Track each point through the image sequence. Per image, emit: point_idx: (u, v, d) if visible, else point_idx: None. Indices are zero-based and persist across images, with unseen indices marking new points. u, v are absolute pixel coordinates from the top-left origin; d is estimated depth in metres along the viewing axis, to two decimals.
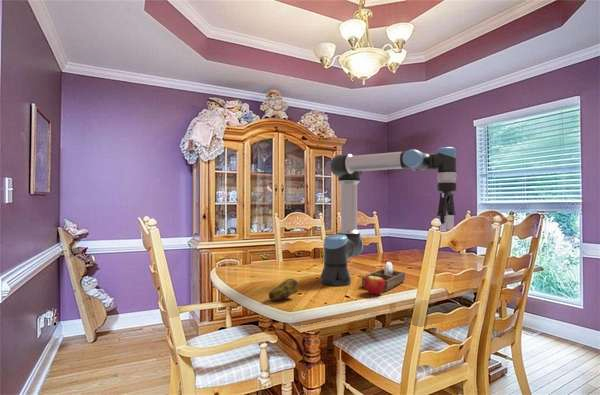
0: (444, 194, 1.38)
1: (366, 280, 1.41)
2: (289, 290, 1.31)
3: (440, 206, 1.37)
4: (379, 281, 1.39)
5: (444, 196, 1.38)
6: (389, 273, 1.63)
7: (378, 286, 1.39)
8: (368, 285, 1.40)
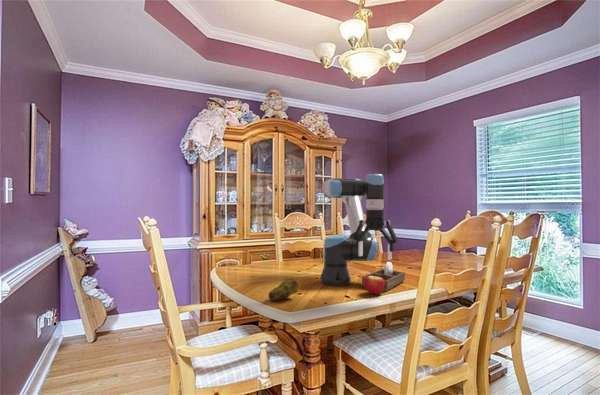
0: None
1: (366, 280, 1.41)
2: (289, 290, 1.31)
3: None
4: (379, 281, 1.39)
5: None
6: (389, 273, 1.63)
7: (378, 286, 1.39)
8: (368, 285, 1.40)
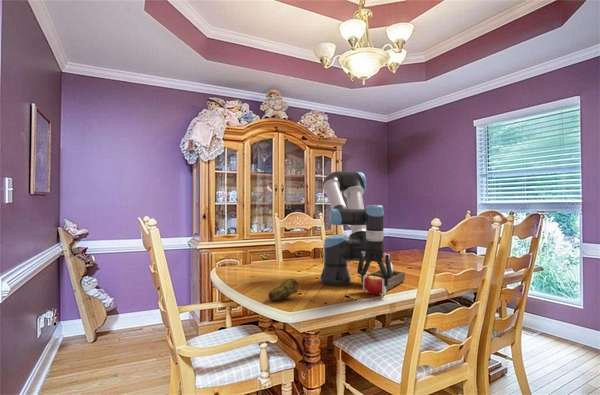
0: None
1: (366, 280, 1.41)
2: (289, 290, 1.31)
3: None
4: (379, 281, 1.39)
5: None
6: None
7: (378, 286, 1.39)
8: (368, 285, 1.40)
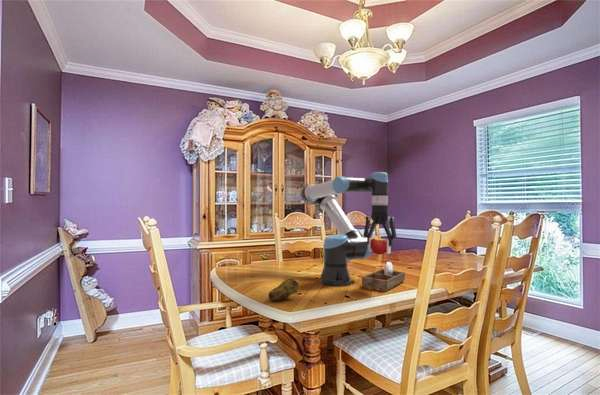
0: None
1: (372, 241, 1.53)
2: (289, 290, 1.31)
3: None
4: (384, 241, 1.51)
5: None
6: (389, 273, 1.63)
7: (383, 246, 1.50)
8: (374, 245, 1.52)
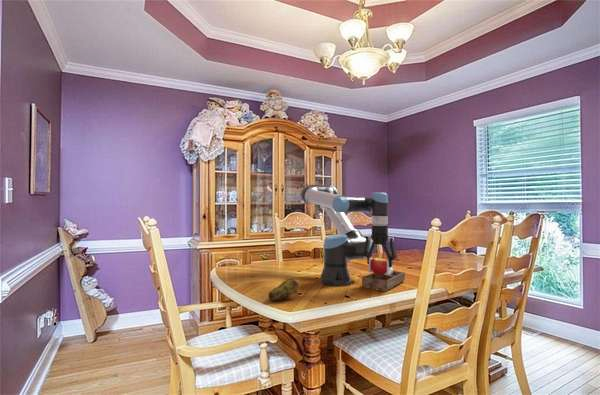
0: None
1: (372, 262, 1.53)
2: (289, 290, 1.31)
3: None
4: (384, 262, 1.51)
5: None
6: None
7: (383, 267, 1.50)
8: (374, 266, 1.52)
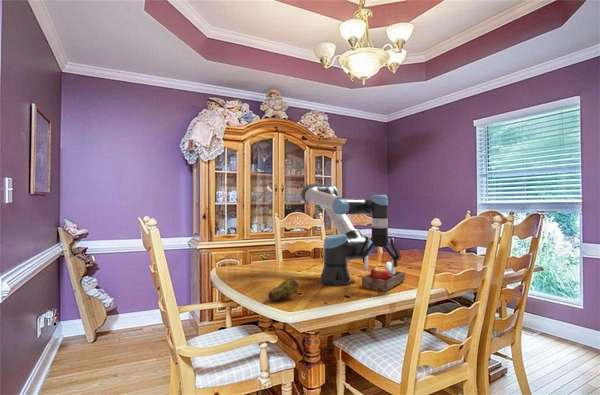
0: None
1: (372, 271, 1.53)
2: (289, 290, 1.31)
3: None
4: (384, 272, 1.51)
5: None
6: (389, 273, 1.63)
7: (383, 277, 1.50)
8: (374, 276, 1.51)
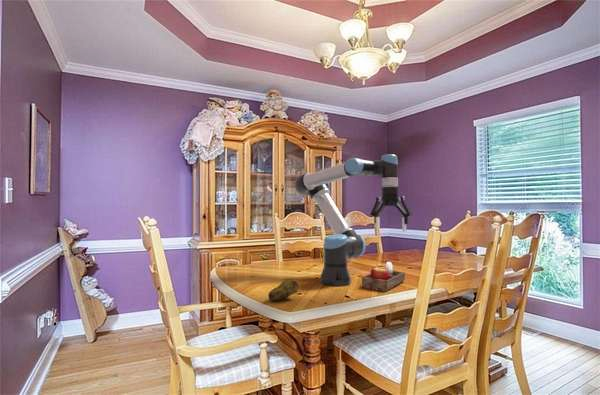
0: None
1: (372, 271, 1.53)
2: (289, 290, 1.31)
3: None
4: (384, 272, 1.51)
5: None
6: (389, 273, 1.63)
7: (383, 277, 1.50)
8: (374, 276, 1.51)
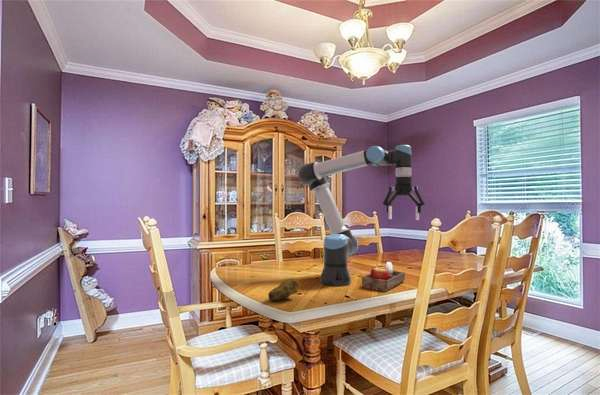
0: None
1: (372, 271, 1.53)
2: (289, 290, 1.30)
3: None
4: (384, 272, 1.51)
5: None
6: (389, 273, 1.63)
7: (383, 277, 1.50)
8: (374, 276, 1.51)
